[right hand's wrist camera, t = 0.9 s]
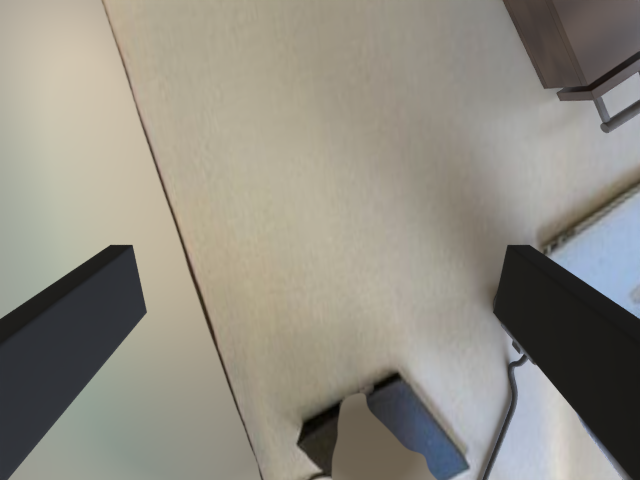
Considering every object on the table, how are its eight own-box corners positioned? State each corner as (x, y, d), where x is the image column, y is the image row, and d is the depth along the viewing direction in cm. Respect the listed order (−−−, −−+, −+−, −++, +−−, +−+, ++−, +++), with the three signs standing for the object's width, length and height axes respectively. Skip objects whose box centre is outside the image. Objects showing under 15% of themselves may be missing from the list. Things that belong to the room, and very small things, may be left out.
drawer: (643, 94, 45) (689, 92, 39) (576, 137, 47) (611, 141, 41) (583, -66, 39) (628, -95, 33) (510, -9, 41) (540, -27, 35)
